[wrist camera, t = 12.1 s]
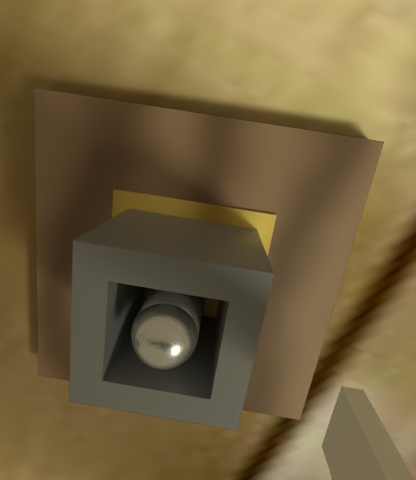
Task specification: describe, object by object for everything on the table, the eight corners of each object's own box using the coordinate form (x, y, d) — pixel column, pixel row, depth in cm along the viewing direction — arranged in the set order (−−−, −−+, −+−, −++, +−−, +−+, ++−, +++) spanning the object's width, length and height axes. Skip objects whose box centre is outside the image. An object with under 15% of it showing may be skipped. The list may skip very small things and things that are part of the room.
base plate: (371, 142, 18) (385, 141, 17) (295, 403, 24) (300, 422, 22) (48, 92, 19) (31, 86, 17) (49, 362, 24) (36, 377, 23)
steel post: (210, 258, 19) (199, 328, 12) (203, 300, 20) (189, 390, 13) (164, 251, 19) (124, 316, 12) (160, 293, 20) (119, 379, 13)
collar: (257, 229, 18) (274, 273, 12) (234, 340, 21) (237, 430, 14) (128, 208, 19) (72, 240, 12) (119, 321, 21) (69, 401, 14)
